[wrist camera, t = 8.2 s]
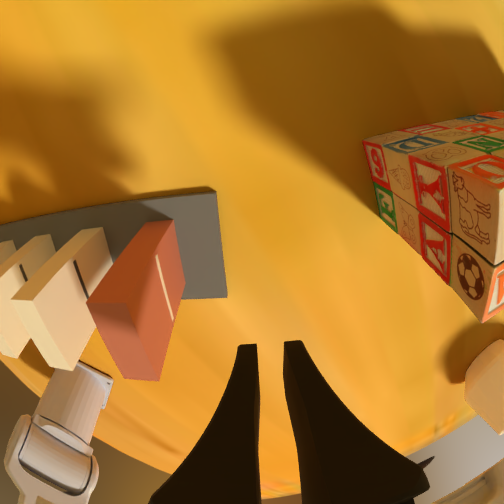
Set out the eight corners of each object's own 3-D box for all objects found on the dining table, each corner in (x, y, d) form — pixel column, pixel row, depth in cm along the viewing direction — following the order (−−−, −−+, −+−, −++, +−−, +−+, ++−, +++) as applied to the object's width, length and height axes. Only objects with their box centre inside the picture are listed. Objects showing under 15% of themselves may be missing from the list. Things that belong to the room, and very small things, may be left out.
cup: (444, 382, 31) (477, 449, 19) (502, 320, 26) (549, 382, 14) (469, 388, 35) (496, 440, 22) (516, 338, 30) (551, 387, 17)
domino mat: (-3, 294, 21) (-6, 296, 21) (-27, 232, 18) (-30, 234, 17) (227, 292, 21) (227, 297, 21) (216, 191, 18) (215, 193, 17)
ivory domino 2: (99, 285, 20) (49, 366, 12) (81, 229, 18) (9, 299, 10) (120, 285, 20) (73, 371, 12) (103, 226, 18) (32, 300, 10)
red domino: (160, 284, 20) (123, 378, 12) (145, 222, 18) (84, 302, 10) (186, 283, 20) (159, 381, 12) (173, 219, 18) (126, 302, 10)
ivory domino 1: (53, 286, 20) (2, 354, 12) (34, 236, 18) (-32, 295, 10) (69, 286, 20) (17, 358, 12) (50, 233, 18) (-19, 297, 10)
